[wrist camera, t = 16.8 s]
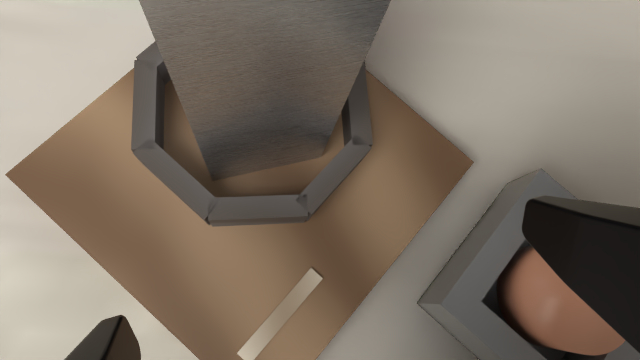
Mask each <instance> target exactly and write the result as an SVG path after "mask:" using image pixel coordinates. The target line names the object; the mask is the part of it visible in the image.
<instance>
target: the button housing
mask: <svg viewBox="0 0 640 360" xmlns="http://www.w3.org/2000/svg"><path fill="white" fill-rule="evenodd" d="M542 195H547V196H554V197H562V198H569V199H576V200H578V199H577V198H575V197H574V196H573V195H572V194H571V193H569V192H568V191H567V190H566V189H565V188H564V187H562V186H561V185H560V184H559V183H558V182H556V181H555V180H554V179H553V178H552V177H551V176H549V175H548V174H547V173H546V172H545V171H543V170H542V169H538V170H536V171H534V172H532V173H530V174H527V175H525V176H523V177H521V178H518V179H516V180H514V181H512V182H510V183H507V185H506V186H505V187H504V189H503V190H502V191H501V193H500V194H499V195H498V197H497V198H496V199H495V201H494V202H493V203H492V205H491V206H490V207H489V209H488V210H487V211H486V212H485V214H484V215H483V216H482V218H481V219H480V220H479V222H478V223H477V224H476V226H475V227H474V228H473V230H472V231H471V232H470V234H469V235H468V236H467V238H466V239H465V240H464V242H463V243H462V244H461V245H460V247H459V248H458V249H457V251H456V252H455V253H454V255H453V256H452V257H451V259H450V260H449V261H448V263H447V264H446V265H445V267H444V268H443V269H442V271H441V272H440V273H439V274H438V276H437V277H436V278H435V280H434V281H433V282H432V284H431V285H430V286H429V288H428V289H427V290H426V292H425V293H424V294H423V296H422V297H421V298H420V300H419V301H418V302H417V304H418V305H419V306H420V307H422V308H423V309H424V310H425V311H426V312H427V313H428V314H429V315H430V316H432V317H433V318H434V319H435V320H436V321H437V322H438V323H439V324H440V325H442V326H443V327H444V328H445V329H446V330H447V331H448V332H449V333H451V334H452V335H453V336H454V337H455V338H456V339H457V340H458V341H459V342H461V343H462V344H463V345H464V346H465V347H466V348H467V349H468V350H470V351H471V352H472V353H473V354H474V355H475V356H476V357H477V358H478V359H480V360H640V353H638V352H637V351H636V350H635V349H634V348H633V347H632V346H631V345H630V344H629V343H628V342H627V341H625V342H624V343H623V344H622V345H621V346H619V347H618V348H617V349H615V350H613V351H611V352H609V353H606V354H602V355H584V354H578V353H573V352H567V351H562V350H556V349H551V348H545V347H540V346H537V345H533V344H531V343H529V342H527V341H525V340H524V339H523V338H522V337H521V336H520V335H518V334H517V333H516V332H515V331H514V330H513V329H512V328H511V327H510V326H509V325H508V324H507V322H506V320H505V319H504V317H503V315H502V313H501V310H500V307H499V304H498V299H497V281H498V277H499V275H500V274H501V272H502V271H503V270H504V268H505V267H506V265H507V264H508V263H509V261H510V260H511V258H512V257H513V255H514V254H515V253H516V251H517V250H519V249H522V248H524V247H528V246H531V245H530V243H529V242H528V241H527V240H526V239H525V237H524V235H523V233H522V221H523V216H524V210H525V205H526V202H527V201H528V200H529V199H531V198H535V197H538V196H542Z"/></svg>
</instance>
